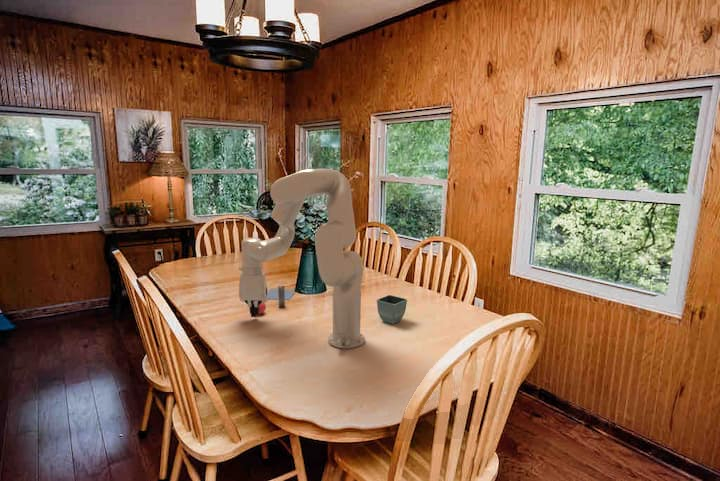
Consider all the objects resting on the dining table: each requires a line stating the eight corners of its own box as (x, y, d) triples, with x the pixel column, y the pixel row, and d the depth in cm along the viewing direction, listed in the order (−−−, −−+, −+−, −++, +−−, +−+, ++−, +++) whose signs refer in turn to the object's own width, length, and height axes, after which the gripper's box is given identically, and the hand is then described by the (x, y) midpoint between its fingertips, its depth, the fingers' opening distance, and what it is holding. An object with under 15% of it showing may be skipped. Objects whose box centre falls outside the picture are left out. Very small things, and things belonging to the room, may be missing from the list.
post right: (284, 308, 173) (283, 287, 172) (278, 307, 174) (277, 287, 172) (285, 305, 176) (285, 285, 174) (279, 305, 176) (279, 285, 175)
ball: (266, 297, 168) (267, 310, 170) (252, 298, 168) (253, 310, 170) (264, 304, 163) (264, 316, 165) (249, 304, 163) (250, 316, 165)
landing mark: (289, 299, 184) (289, 299, 184) (258, 298, 185) (258, 298, 185) (297, 290, 197) (297, 289, 197) (268, 289, 199) (268, 288, 199)
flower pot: (388, 315, 167) (389, 294, 165) (407, 320, 161) (407, 299, 159) (375, 321, 160) (376, 299, 158) (394, 327, 154) (394, 304, 153)
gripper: (229, 272, 154) (232, 318, 157) (268, 273, 152) (270, 320, 156) (237, 267, 161) (239, 311, 165) (274, 268, 160) (276, 313, 163)
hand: (254, 315), depth 160 cm, fingers closed
